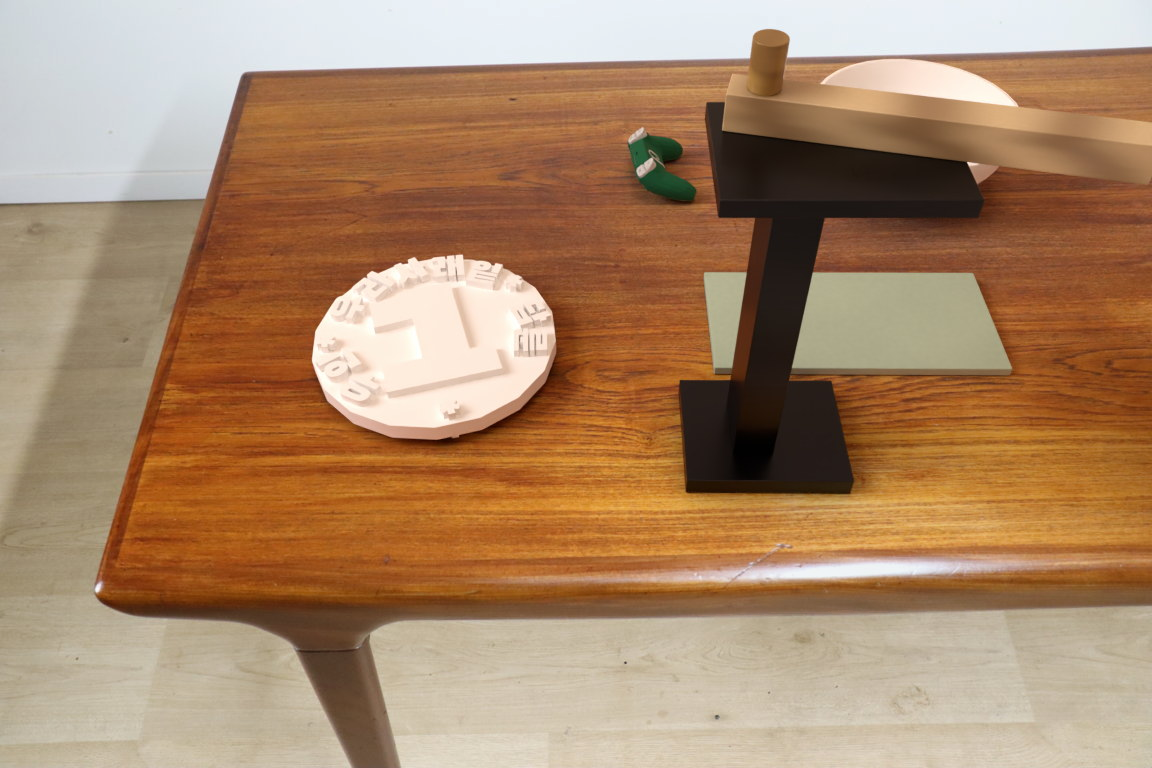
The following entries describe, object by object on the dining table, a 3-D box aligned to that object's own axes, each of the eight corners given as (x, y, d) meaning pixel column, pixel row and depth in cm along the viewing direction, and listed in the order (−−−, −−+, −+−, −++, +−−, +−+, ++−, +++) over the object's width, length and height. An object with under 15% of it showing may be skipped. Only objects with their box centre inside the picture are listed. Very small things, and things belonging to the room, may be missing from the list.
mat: (970, 279, 85) (973, 272, 85) (1009, 375, 77) (1013, 369, 76) (703, 278, 86) (704, 271, 85) (713, 374, 78) (714, 367, 77)
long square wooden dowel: (1142, 161, 52) (1186, 70, 48) (1148, 185, 51) (1194, 94, 47) (727, 110, 57) (737, 23, 53) (721, 131, 55) (731, 43, 51)
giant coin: (288, 439, 73) (279, 414, 71) (348, 274, 87) (342, 249, 85) (545, 451, 72) (544, 426, 70) (565, 282, 86) (565, 257, 84)
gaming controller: (657, 168, 101) (618, 137, 97) (684, 144, 99) (645, 111, 96) (673, 221, 95) (632, 189, 91) (702, 196, 93) (660, 163, 89)
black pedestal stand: (853, 393, 76) (939, 101, 57) (877, 494, 69) (985, 200, 50) (678, 392, 76) (706, 101, 57) (685, 492, 69) (720, 200, 50)
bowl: (832, 113, 105) (847, 42, 98) (1015, 158, 98) (1042, 85, 92) (771, 208, 93) (784, 134, 87) (974, 266, 86) (1003, 190, 80)
